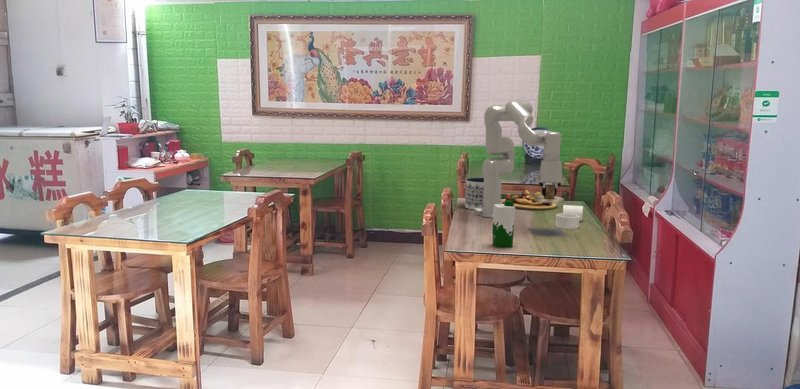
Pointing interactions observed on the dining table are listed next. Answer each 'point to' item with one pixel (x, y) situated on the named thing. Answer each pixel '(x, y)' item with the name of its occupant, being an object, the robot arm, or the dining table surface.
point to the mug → (573, 210)
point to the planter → (474, 193)
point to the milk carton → (503, 224)
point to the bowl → (567, 221)
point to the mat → (547, 232)
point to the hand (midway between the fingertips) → (548, 195)
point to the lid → (549, 196)
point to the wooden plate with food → (529, 202)
